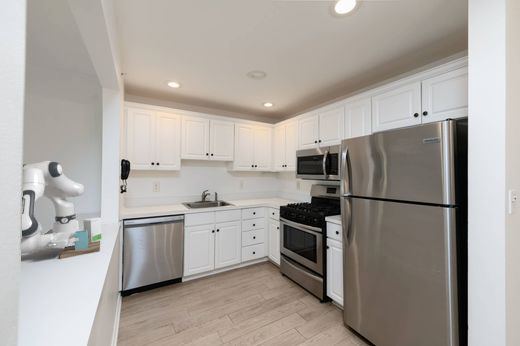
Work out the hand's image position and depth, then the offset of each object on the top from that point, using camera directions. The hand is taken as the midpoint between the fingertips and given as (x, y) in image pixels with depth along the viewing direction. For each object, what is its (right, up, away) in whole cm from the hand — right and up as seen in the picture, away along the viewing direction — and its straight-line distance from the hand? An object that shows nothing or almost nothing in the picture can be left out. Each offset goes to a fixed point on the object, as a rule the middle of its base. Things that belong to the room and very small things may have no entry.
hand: (79, 236), depth 137 cm
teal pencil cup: (+1, -7, +1) cm, 7 cm away
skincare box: (-5, -8, +18) cm, 20 cm away
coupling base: (+1, -9, +1) cm, 9 cm away
